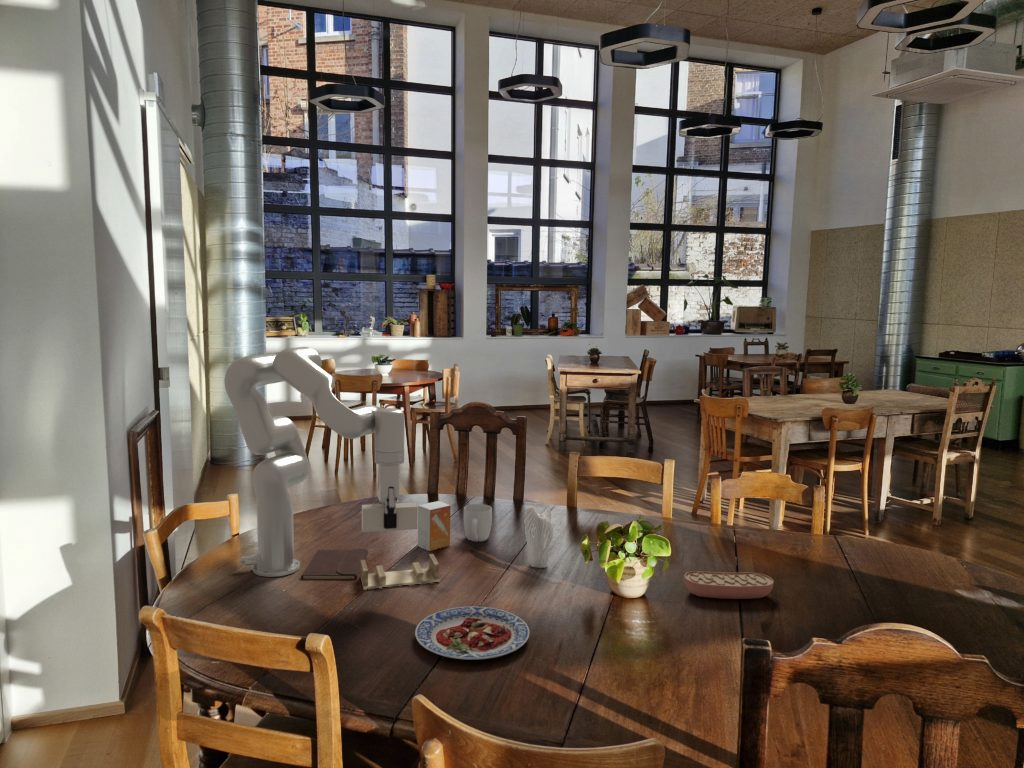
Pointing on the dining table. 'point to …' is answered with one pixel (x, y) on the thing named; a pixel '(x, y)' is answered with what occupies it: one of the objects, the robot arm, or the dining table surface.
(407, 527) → the clay bar
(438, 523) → the small box
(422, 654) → the dining table surface
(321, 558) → the notebook
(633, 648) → the dining table surface
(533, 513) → the white fluted vase
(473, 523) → the mug
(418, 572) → the rack
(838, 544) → the dining table surface
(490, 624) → the ceramic plate
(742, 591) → the oval trinket tray
